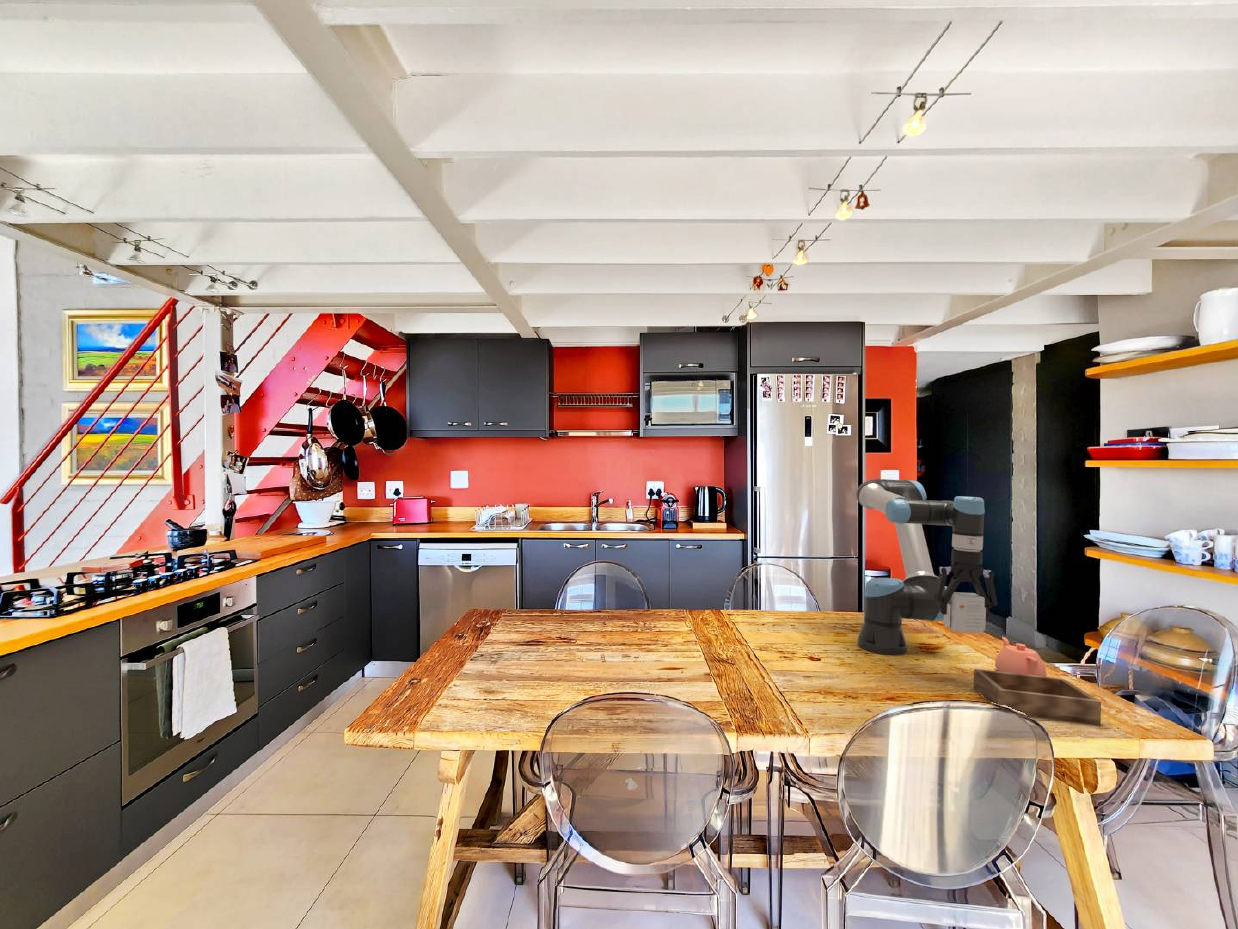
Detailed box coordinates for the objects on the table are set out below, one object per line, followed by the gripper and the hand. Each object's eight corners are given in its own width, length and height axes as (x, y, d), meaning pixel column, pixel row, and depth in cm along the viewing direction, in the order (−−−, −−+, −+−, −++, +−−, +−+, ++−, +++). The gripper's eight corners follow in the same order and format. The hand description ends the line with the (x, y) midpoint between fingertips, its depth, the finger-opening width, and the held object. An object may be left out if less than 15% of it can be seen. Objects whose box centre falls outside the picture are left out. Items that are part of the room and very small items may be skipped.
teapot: (1012, 684, 153) (1013, 651, 153) (981, 662, 170) (982, 633, 170) (1059, 689, 150) (1060, 655, 150) (1024, 666, 168) (1024, 636, 168)
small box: (973, 628, 157) (974, 592, 157) (984, 634, 151) (985, 597, 151) (944, 626, 158) (945, 591, 158) (954, 632, 152) (955, 595, 152)
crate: (999, 712, 133) (1000, 690, 133) (973, 688, 148) (974, 668, 148) (1100, 725, 128) (1101, 702, 128) (1062, 699, 143) (1063, 678, 143)
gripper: (931, 548, 153) (928, 627, 153) (1015, 554, 148) (1011, 635, 148) (922, 545, 160) (919, 619, 160) (1002, 550, 156) (999, 627, 156)
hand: (964, 627), depth 154 cm, fingers closed on small box, 8 cm apart
